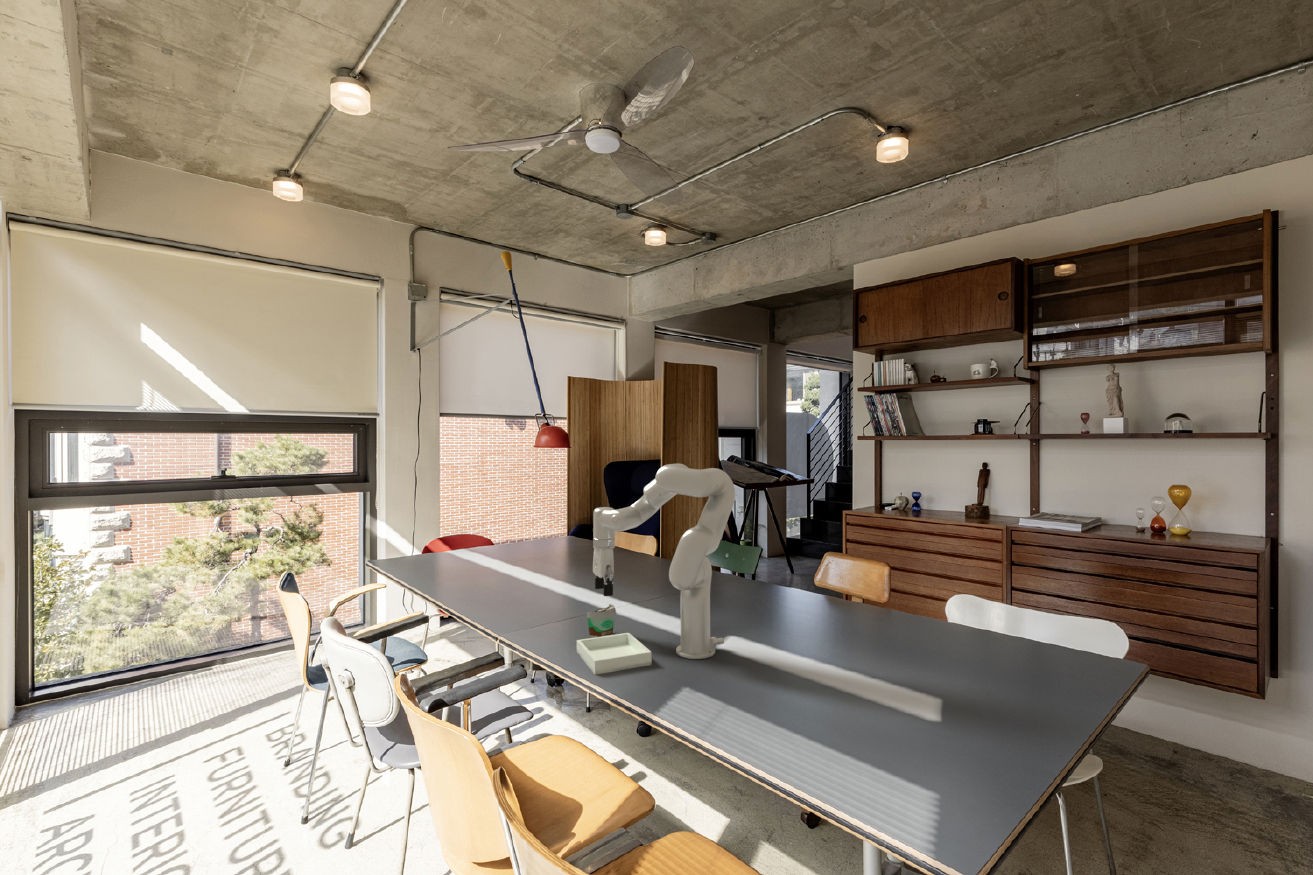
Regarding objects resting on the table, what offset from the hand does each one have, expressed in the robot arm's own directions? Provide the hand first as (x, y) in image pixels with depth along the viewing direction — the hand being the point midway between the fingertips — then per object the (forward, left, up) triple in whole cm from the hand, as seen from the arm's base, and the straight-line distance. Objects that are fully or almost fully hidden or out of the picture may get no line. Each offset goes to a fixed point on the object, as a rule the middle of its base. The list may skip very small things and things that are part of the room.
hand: (603, 592), depth 210 cm
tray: (+4, +20, -16) cm, 26 cm away
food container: (0, 0, -16) cm, 16 cm away
